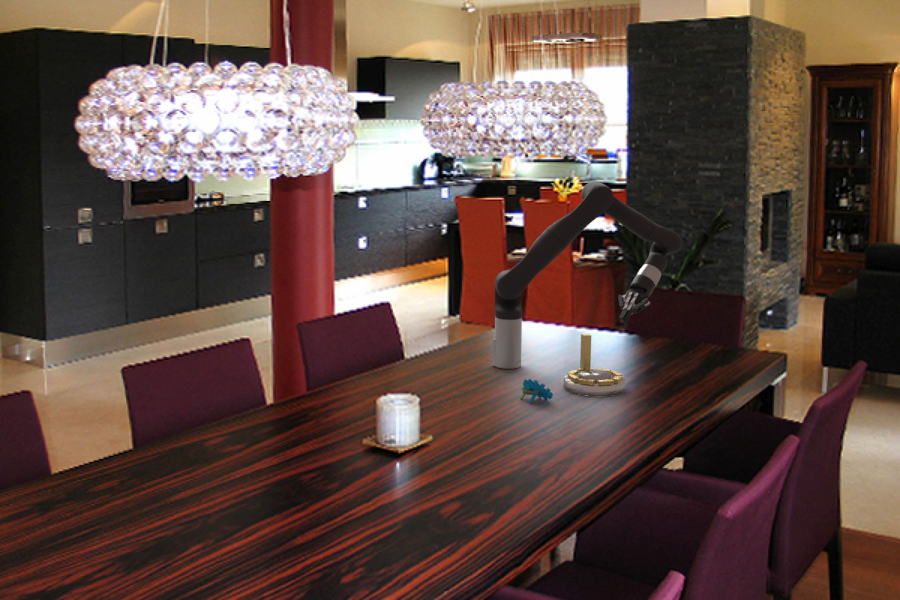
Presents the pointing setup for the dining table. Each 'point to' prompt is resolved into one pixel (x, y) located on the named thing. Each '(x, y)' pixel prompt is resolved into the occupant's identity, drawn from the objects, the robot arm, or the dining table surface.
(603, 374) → the grey round piece
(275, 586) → the dining table surface
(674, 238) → the robot arm
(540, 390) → the blue lobed toy
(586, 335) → the peg on ring base
